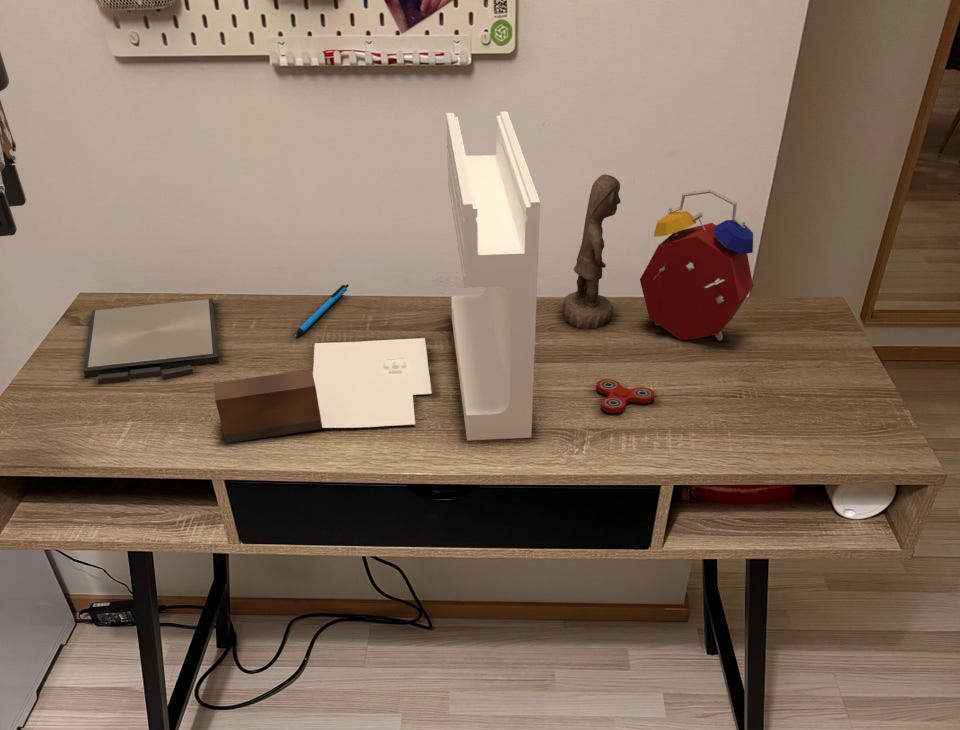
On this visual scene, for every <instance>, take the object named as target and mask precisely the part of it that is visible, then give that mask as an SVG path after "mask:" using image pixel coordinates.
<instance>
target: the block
mask: <svg viewBox="0 0 960 730" xmlns="http://www.w3.org/2000/svg"><path fill="white" fill-rule="evenodd" d="M445 115H446V116H445V118H446V144H447V145H446V148H447V153H446V155H447V156H446V157H447V172H448V174H447V185H448V192H449V199H450V204H451V211H452V216H453V223H454V229H455V236H456V242H457V250H458V255H459V261H460V268H461V274H462V279H463V286H464V289H465V288H484V289H483V291H482V292H480V293H479V294H475V295H452V296H450V302H451V303H450V304H451V305H450V307H451V309H450V310H451V324H452V333H453V340H454V349H455V356H456V364H457V372H458V379H459V381H458V382H459V387H460V395H461V402H462V405H461V406H462V413H463V419H464V427H465V434H466V441H485V440H507V439H508V440H509V439H529V438H532V433H533V431H532V429H533V407H534V405H533V403H534V402H533V401H534V379H535V376H534V375H535V355H536V354H535V353H536V351H535V350H536V329H537V328H536V325H537V324H536V321H537V302H538V300H537V299H538V298H537V297H538V276H539V273H538V272H539V271H538V269H539V248H540V247H539V245H540V222H541V221H540V219H541V200H540V198H539V195H538V192H537V188H536V186H535V184H534V181H533V178H532V175H531V172H530V170H529V167H528V164H527V161H526V158H525V156H524V153H523V151H522V147H521V145H520V142H519V139H518V137H517V133H516V131H515V128H514V125H513V122H512V120H511V118H510V114H509V112H508V111H499V115H496V116H495V117H496V118H495V122H496V128H495V154H486V155H482V154H481V155H467V154H466V153H467V152H466V149H465V145H464V141H463V140H464V139H463V136H462V131H461V126H460V122H459V121H460V120H459V117H458V116H455V113H454V112H446V113H445Z"/></svg>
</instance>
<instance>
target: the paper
mask: <svg viewBox="0 0 960 730" xmlns="http://www.w3.org/2000/svg"><path fill="white" fill-rule="evenodd" d="M312 374H313V378H314V382H315V386H316V392H317V398H318V404H319V410H320V416H321V422H322V429H333V428H335V429H340V428H341V429H343V428H344V429H346V428H347V429H348V428H349V429H350V428H351V429H354V428H356V429H357V428H374V427H375V428H376V427H391V426H392V427H393V426H408V425H409V426H411V425H416V418H415V417H416V415H415V407H414V406H415V405H414V395H431V394H432V385H431V377H430V369H429V361H428V352H427V343H426V338H425V337H420V338H418V337H417V338H399V339H398V338H397V339H380V340H379V339H378V340H362V341H343V342H342V341H341V342H339V341H338V342H337V341H336V342H315V343H314V350H313V366H312Z"/></svg>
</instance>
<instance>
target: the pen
mask: <svg viewBox="0 0 960 730" xmlns="http://www.w3.org/2000/svg"><path fill="white" fill-rule="evenodd" d="M349 286H350V284H349V283H346V284H342V285H340V287H338V289H336V290H335V291H334V292H333V293H332V294H331V295H330V297H329V298H328V299H327V301H326V302H325V303H323V304H322V305H321V307H319V308H318V309H317V310H316V311H315V312H314V313H313V314H312V315H311V316H310V317H309V318H308V319H307V320H306V321H305V322H304V323H302V325H301V326H300V327H298V329H297V331H296V333H295V335H294V336H295V337H299V336H301V335H303V334H304V333H305V332H306V331H307V330H308V329H309V328H310V327H311V326H312V325H313V324H314V323H315V322H316V321H317V320H318V319H319V318H321V317H322V315H324V314H325V313H326V311H328V310H329V309H330V307H331V306H332V305H334V303H336V302H337V301H338V300H339V299H340V298H341V297H342V296H343V295H344V294H345V293H346V292H347V290H348V287H349Z"/></svg>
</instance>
